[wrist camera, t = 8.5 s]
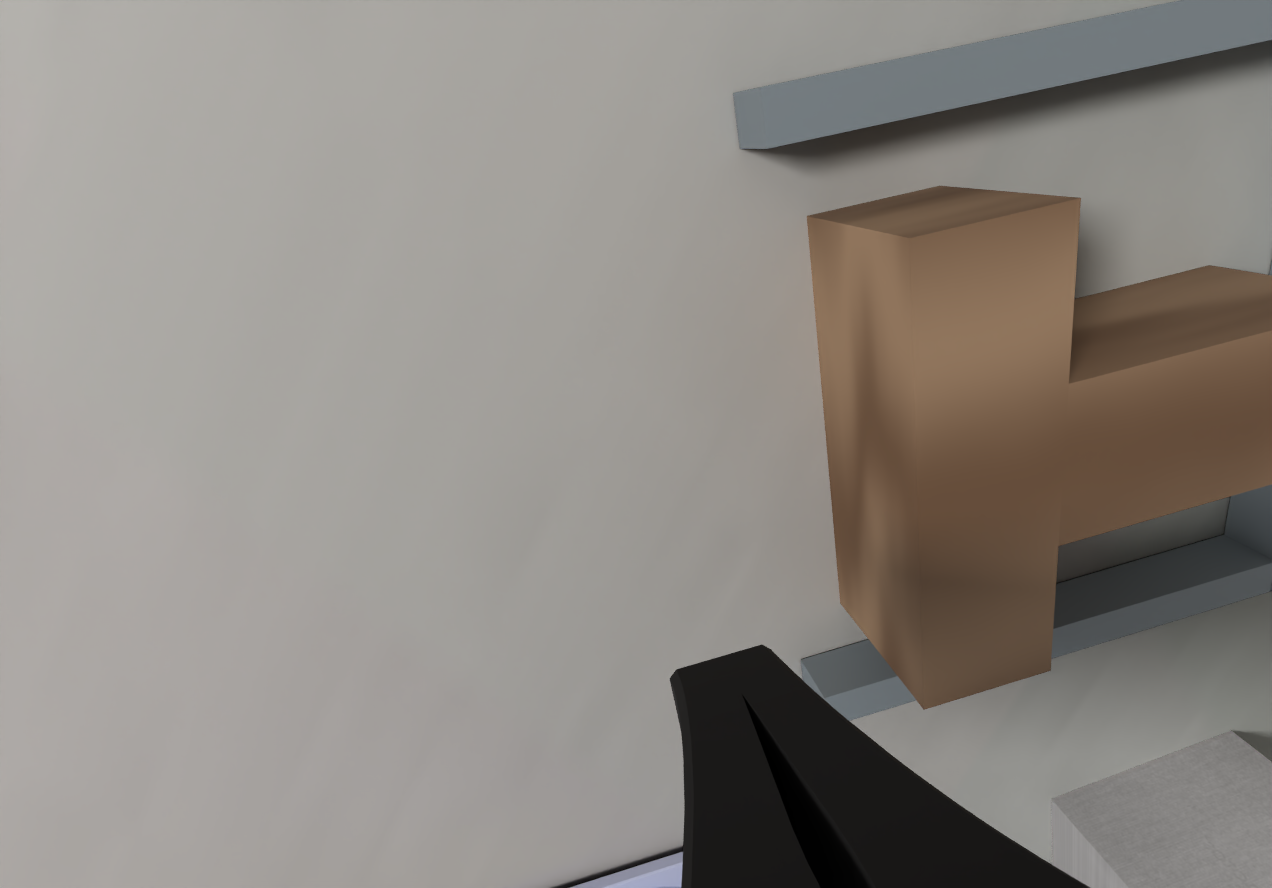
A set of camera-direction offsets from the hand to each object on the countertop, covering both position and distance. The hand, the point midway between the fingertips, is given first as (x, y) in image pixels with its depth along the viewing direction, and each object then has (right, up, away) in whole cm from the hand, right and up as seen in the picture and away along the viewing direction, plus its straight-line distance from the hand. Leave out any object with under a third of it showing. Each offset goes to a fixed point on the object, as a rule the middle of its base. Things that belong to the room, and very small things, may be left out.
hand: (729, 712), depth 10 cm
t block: (+8, +5, +8) cm, 12 cm away
